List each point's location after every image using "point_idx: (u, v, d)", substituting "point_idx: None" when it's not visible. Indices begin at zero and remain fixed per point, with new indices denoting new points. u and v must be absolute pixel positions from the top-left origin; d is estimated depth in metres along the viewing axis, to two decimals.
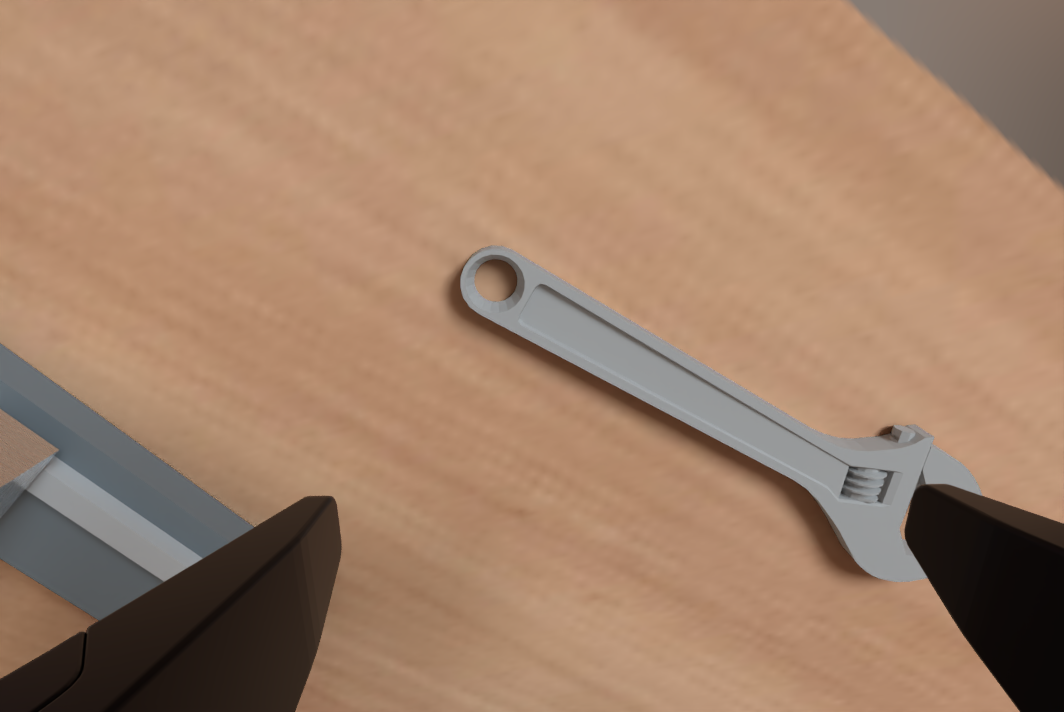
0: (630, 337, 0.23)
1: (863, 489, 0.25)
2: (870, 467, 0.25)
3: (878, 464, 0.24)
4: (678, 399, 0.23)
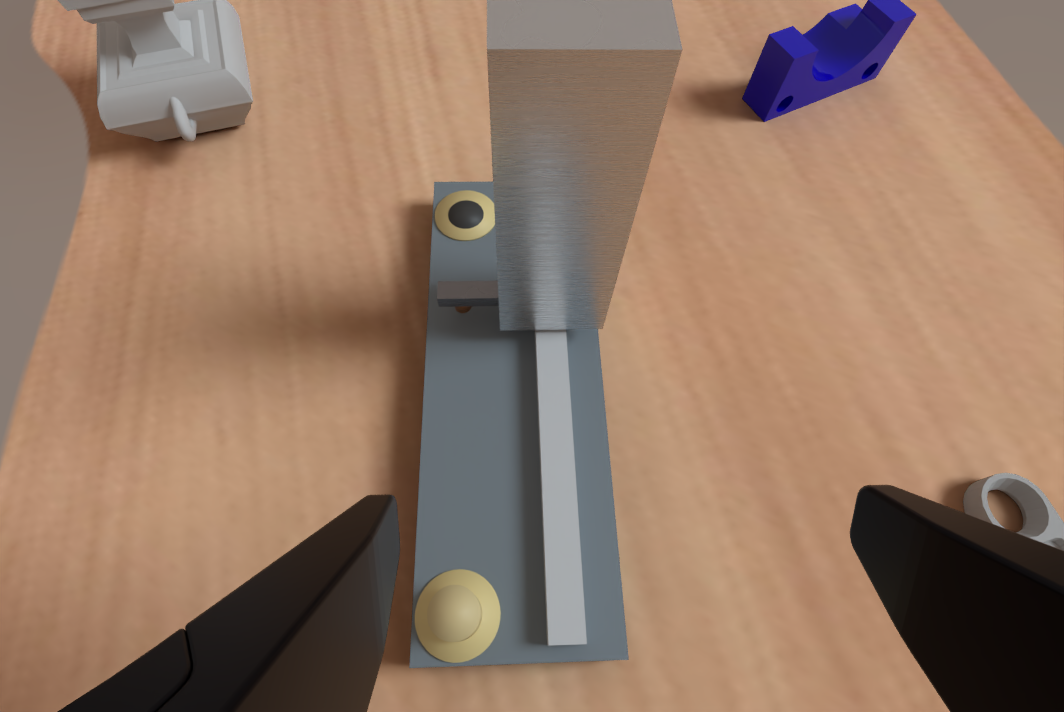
0: None
1: None
2: None
3: None
4: None
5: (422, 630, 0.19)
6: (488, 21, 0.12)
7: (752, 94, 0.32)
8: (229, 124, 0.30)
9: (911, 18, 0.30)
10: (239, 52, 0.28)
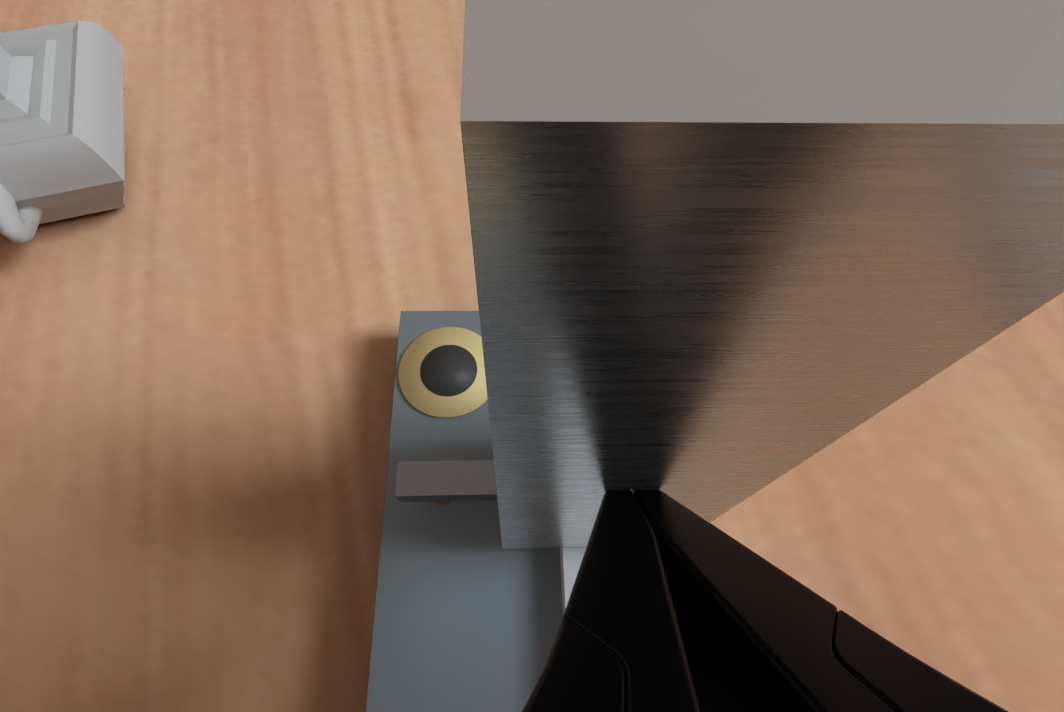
0: None
1: None
2: None
3: None
4: None
5: None
6: (471, 0, 0.03)
7: None
8: (100, 208, 0.20)
9: None
10: (108, 104, 0.19)
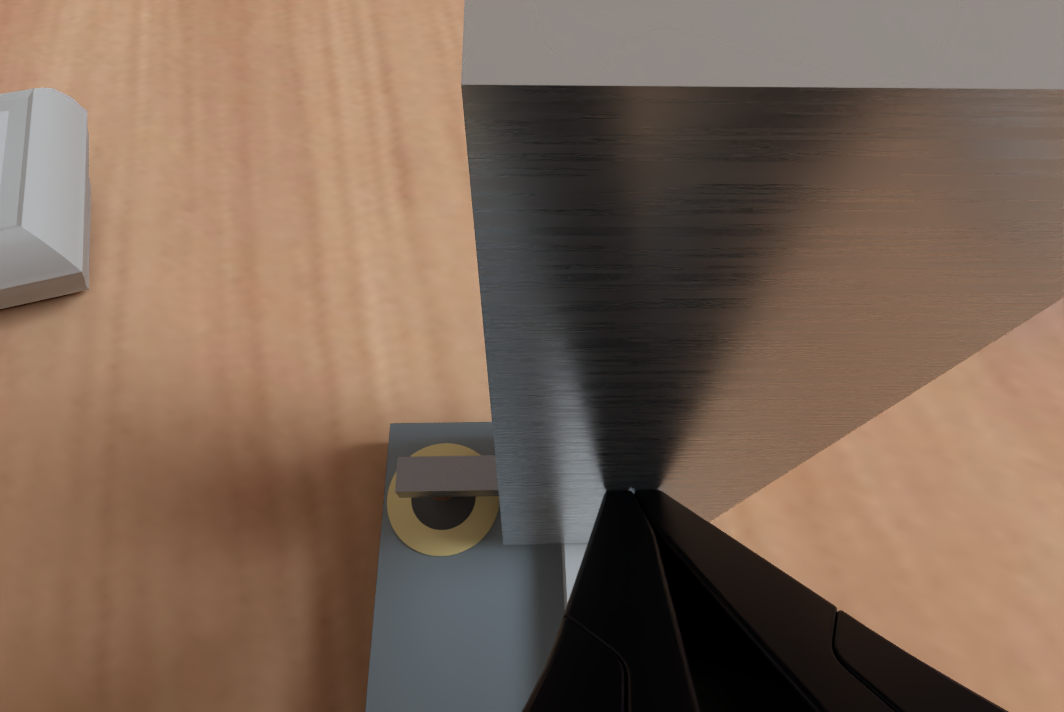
0: None
1: None
2: None
3: None
4: None
5: None
6: None
7: None
8: (60, 293, 0.18)
9: None
10: (66, 183, 0.17)
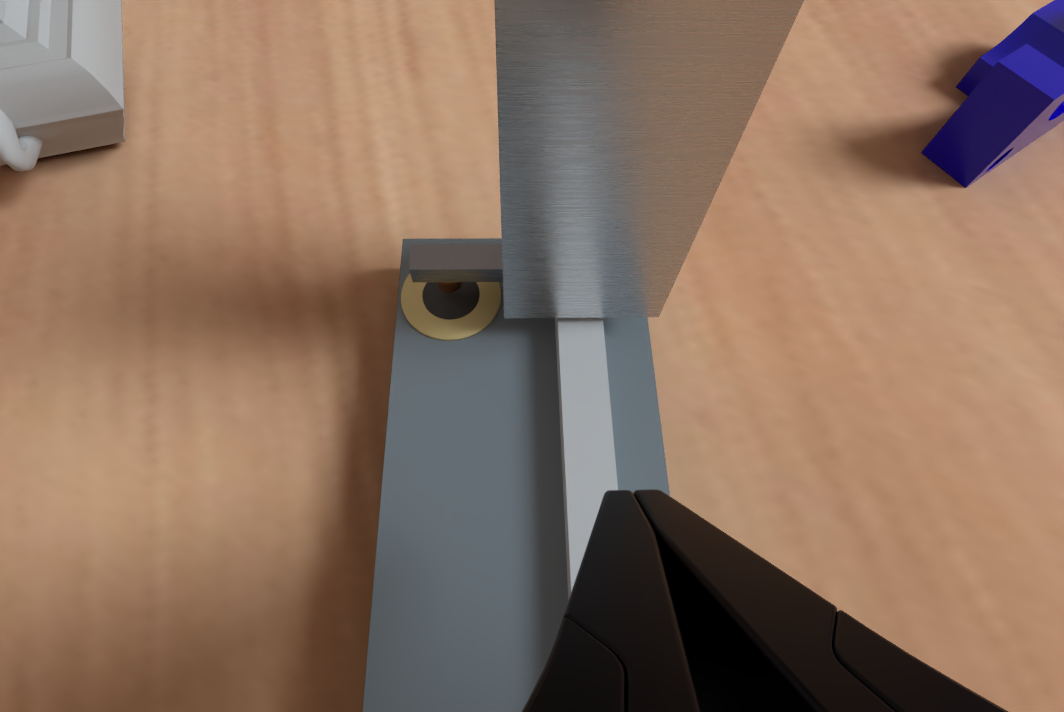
0: None
1: None
2: None
3: None
4: None
5: None
6: None
7: (945, 148, 0.21)
8: (100, 142, 0.20)
9: None
10: (107, 33, 0.19)
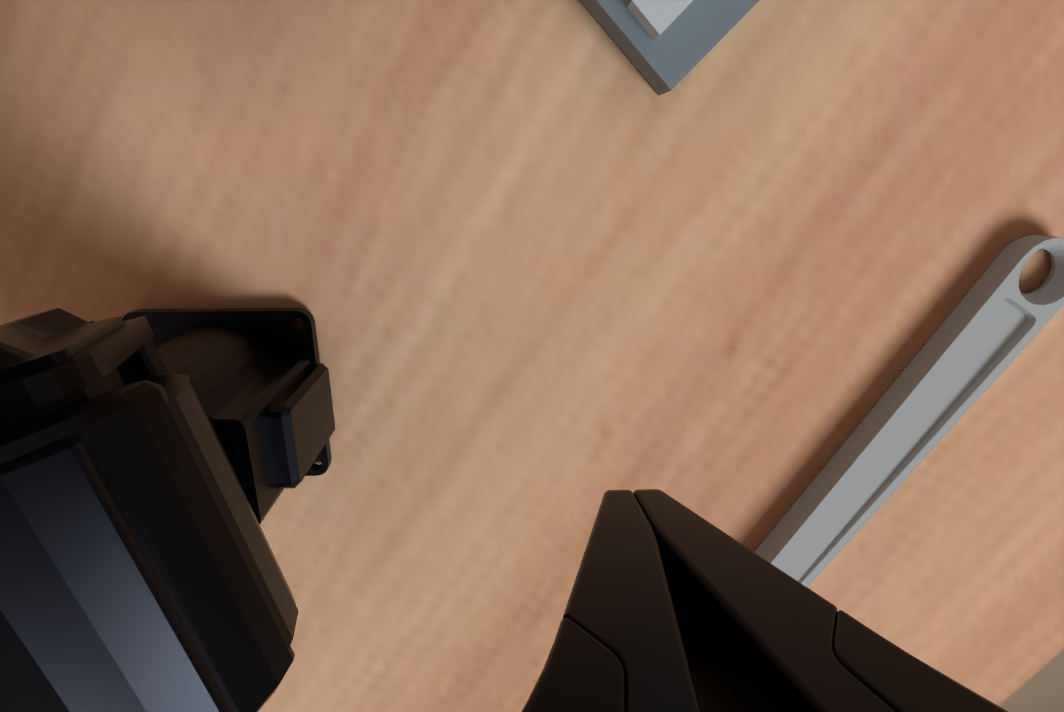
0: (949, 407, 0.22)
1: None
2: None
3: None
4: (874, 456, 0.23)
5: None
6: None
7: None
8: None
9: None
10: None
